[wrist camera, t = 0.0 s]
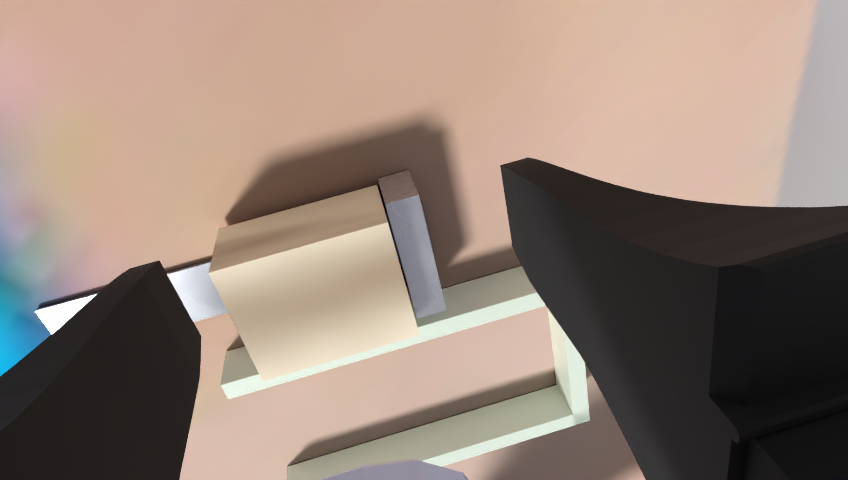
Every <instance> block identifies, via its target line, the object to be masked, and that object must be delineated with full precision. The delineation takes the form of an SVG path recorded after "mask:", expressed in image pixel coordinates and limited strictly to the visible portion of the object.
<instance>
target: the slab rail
mask: <svg viewBox="0 0 848 480" xmlns="http://www.w3.org/2000/svg"><path fill="white" fill-rule="evenodd" d="M378 182H379V185H380V189H381V193H382V196H383V200H384V203H385V207H386V211H385V214H386V218H387V221H388V225H389V228H390V232H391V235H392V239H393V242H394V246H395V249H396V253H397V256H398V260H399V263H401V264H402V268H403V271H404V275H405V278H406V282H407V285H408V289H409V292H410V296H411V299H412V302H413V306H414V309H415V313H416V316H417V319H418V318H421V317H424V316H428V315H431V314H435V313H438V312H442V311H445V310H447V309H446V305H445V301H444V297H443V293H442V288H441V284H440V280H439V276H438V272H437V268H436V264H435V259H434V255H433V254H434V251H433V246H432V242H431V238H430V234H429V230H428V226H427V221H426V217H425V213H424V209H423V205H422V202H421V201H420V197H419V194H418V192H417V189H416V187H415V185H414V182H413V180H412V178H411V175H410V173H409V171H408V170H406V171H403V172H399V173H396V174H392V175H388V176H385V177H381V178H378ZM210 264H211V260H208V261H204V262H201V263H197V264H193V265H190V266H186V267H183V268H179V269H176V270H172V271H168V272H166V273H167V275H168V277H169V279H170V281H171V282H172V284H173V286H174V288H175V290H176V292H177V293H178V295H179V297H180V299H181V301H182V302H183V304H184V306H185V308H186V310H187V312H188V313H189V315H190V317H191V319H192V321H193V322H196V321H200V320H203V319H207V318H210V317H214V316H217V315H221V314H224V313H228V311H227V309H226V307H225V305H224V303H223V301H222V299H221V297H220V295H219V293H218V291H217V289H216V287H215V285H214V283H213V281H212V279H211V277H210V275H209V273H208V272H209V268H210ZM99 292H100V291H97V292H94V293H90V294H86V295H83V296H79V297H76V298H72V299H69V300H65V301H62V302H58V303H54V304H51V305H47V306H44V307H40V308H37V309H36V311H35V312H36V313H37V315H38V316H39V317H40V319H41V320H42V322H43V323H44V324H45V326H46V327H47V328H48V330H49V331H50V332H51V334H53V333H54V332H55V331H56V330H57V329H59V328H60V327H61V326H62V325H63V324H64V323H65V322H66V321H67V320H69V319H70V318H71V317H72V316H73V315H74V314H75V313H76V312H78V311H79V310H80V309H81V308H82V307H83V306H84V305H85V304H87V303H88V302H89V301H90V300H91V299H92V298H93V297H94V296H96V295H97V294H98V293H99Z"/></svg>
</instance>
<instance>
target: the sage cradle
mask: <svg viewBox="0 0 848 480" xmlns="http://www.w3.org/2000/svg"><path fill="white" fill-rule="evenodd" d="M442 293H443V297H444V301H445V305H446V309H447V310H445V311H442V312H438V313H435V314H431V315H428V316H424V317H421V318H418V319H417V316H416V313H415V309H414V306H413V302H412V299H411V298H409V299H410V303H411V306H412V310H413V313H414V317H415V320H416V324H417V327H418V331H419V334H420V335H419V336H415V337H412V338H408V339H405V340H402V341H398V342H395V343H391V344H388V345H385V346H381V347H378V348H374V349H371V350H368V351H364V352H361V353H357V354H354V355H351V356H347V357H344V358H340V359H337V360H334V361H330V362H327V363H323V364H320V365H317V366H313V367H310V368H306V369H303V370H300V371H296V372H293V373H289V374H286V375H283V376H279V377H276V378H272V379H269V380H266V381H262V379H261V377H260V375H259V373H258V371H257V369H256V367H255V365H254V363H253V361H252V359H251V357H250V355H249V353H248V351H247V349H246V347H245V346H244V347H240V348H237V349H233V350H230V351H227V352H226V354H225V361H224V367H223V373H222V380H221V387H222V389H223V390H224V392H225V394H226V396H227V398H228V399H231V398H234V397H238V396H241V395H244V394H248V393H251V392H255V391H258V390H261V389H265V388H268V387H272V386H275V385H278V384H282V383H285V382H288V381H292V380H295V379H299V378H302V377H305V376H309V375H312V374H316V373H319V372H322V371H326V370H329V369H333V368H336V367H339V366H343V365H346V364H349V363H353V362H356V361H360V360H363V359H366V358H370V357H373V356H377V355H380V354H383V353H387V352H390V351H394V350H397V349H400V348H404V347H407V346H411V345H414V344H417V343H421V342H424V341H427V340H431V339H434V338H438V337H441V336H444V335H448V334H451V333H455V332H458V331H461V330H465V329H468V328H472V327H475V326H478V325H482V324H485V323H489V322H492V321H495V320H499V319H502V318H505V317H509V316H512V315H516V314H519V313H522V312H526V311H529V310H533V309H536V308H539V307H543V306H546V305H545V303H544V302H543V300H542V299H541V298H540V296H539V295H538V293H537V292H536V290H535V289H534V287H533V286H532V284H531V283H530V281H529V279H528V277H527V275H526V273H525V271H524V269H523V267H522V266H519V267H516V268H513V269H509V270H506V271H502V272H499V273H495V274H492V275H488V276H485V277H482V278H478V279H475V280H471V281H468V282H464V283H461V284H457V285H454V286H451V287H447V288H444V289H442ZM548 317H549V325H550V333H551V341H552V350H553V358H554V366H555V374H556V383H557V385H555V386H551V387H548V388H545V389H541V390H538V391H535V392H532V393H528V394H525V395H522V396H518V397H515V398H512V399H509V400H505V401H502V402H499V403H495V404H492V405H489V406H485V407H482V408H479V409H476V410H472V411H469V412H466V413H462V414H459V415H456V416H452V417H449V418H446V419H443V420H439V421H436V422H433V423H429V424H426V425H423V426H419V427H416V428H413V429H410V430H406V431H403V432H400V433H396V434H393V435H390V436H387V437H383V438H380V439H377V440H373V441H370V442H367V443H363V444H360V445H357V446H354V447H350V448H347V449H344V450H340V451H337V452H334V453H330V454H327V455H324V456H321V457H317V458H314V459H311V460H307V461H304V462H301V463H298V464H294V465H291V466H288V467H287V480H317V479H320V478H324V477H327V476H330V475H333V474H337V473H340V472H343V471H346V470H350V469H353V468H356V467H360V466H363V465H369V464H377V463H385V462H393V461H401V460H409V459H416V460H419V461H423V462H426V463H430V464H433V465H437V466H440V467H441V466H445V465H448V464H451V463H454V462H458V461H461V460H464V459H467V458H471V457H474V456H477V455H480V454H483V453H487V452H490V451H493V450H496V449H500V448H503V447H506V446H509V445H513V444H516V443H519V442H522V441H526V440H529V439H532V438H535V437H539V436H542V435H545V434H548V433H552V432H555V431H558V430H561V429H565V428H568V427H571V426H574V425H578V424H581V423H584V422H587V421H590V418H589V405H588V393H587V381H586V369H585V362H584V360H583V359H582V357H581V355H580V354H579V352H578V351H577V350H576V348H575V347H574V345H573V344H572V342H571V341H570V339H569V338H568V337H567V335H566V334H565V332H564V331H563V329H562V328H561V326H560V325H559V324H558V322H557V321H556V319H555V318H554V316H553V315H552V314H551V312H550V311H549V309H548Z"/></svg>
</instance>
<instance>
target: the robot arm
mask: <svg viewBox="0 0 848 480" xmlns="http://www.w3.org/2000/svg"><path fill="white" fill-rule="evenodd" d="M500 166H501V173H502V179H503V186H504V193H505V199H506V206H507V213H508V219H509V226H510V232H511V239H512V246H513V248H514V250H515V253H516V255H517V257H518V259H519V261H520V263H521V265H522V267H523V269H524V271H525V273H526V275H527V277H528V279H529V281H530V283H531V284H532V286H533V287H534V289H535V290H536V292H537V293H538V295H539V296H540V298H541V299H542V300H543V302H544V303H545V305H546V306H547V308H548V309H549V311H550V312H551V314H552V315H553V316H554V318H555V319H556V321H557V322H558V324H559V325H560V326H561V328H562V329H563V331H564V332H565V334H566V335H567V337H568V338H569V339H570V341H571V342H572V344H573V345H574V347H575V348H576V350H577V351H578V352H579V354H580V355H581V357H582V359H583V360H584V362H585V364H586V365H587V367H588V368H589V370H590V372H591V373H592V375H593V377H594V379H595V381H596V383H597V385H598V387H599V388H600V390H601V392H602V394H603V396H604V398H605V400H606V402H607V403H608V405H609V407H610V409H611V411H612V413H613V415H614V417H615V419H616V421H617V423H618V425H619V427H620V429H621V431H622V433H623V434H624V436H625V438H626V440H627V442H628V444H629V446H630V448H631V450H632V452H633V454H634V456H635V458H636V460H637V462H638V465H639V467H640V469H641V471H642V473H643V475H644V477H645V479H646V480H848V206H835V207H810V208H808V207H806V208H805V207H756V206H738V205H727V204H715V203H705V202H697V201H689V200H683V199H677V198H671V197H666V196H660V195H655V194H650V193H645V192H641V191H637V190H633V189H629V188H625V187H621V186H618V185H614V184H610V183H607V182H604V181H600V180H597V179H594V178H591V177H588V176H585V175H582V174H579V173H576V172H573V171H570V170H567V169H564V168H561V167H558V166H555V165H552V164H549V163H546V162H543V161H540V160H537V159H533V158H525V159H522V160H518V161H514V162H511V163H507V164H504V165H500ZM200 361H201V335H200V333H199V331H198V330H197V328H196V326H195V324H194V322H193V321H192V319H191V317H190V315H189V313H188V312H187V310H186V308H185V306H184V304H183V302H182V301H181V299H180V297H179V295H178V293H177V292H176V290H175V288H174V286H173V284H172V282H171V281H170V279H169V277H168V275H167V273H166V272H165V270H164V268H163V266H162V264H161V262H160V261H156V262H152V263H148V264H145V265H141V266H138V267H134V268H131V269H128V270H127V271H125V272H124V273H122V274H121V275H120V276H118V277H117V278H116V279H114V280H113V281H112V282H111V283H109V284H108V285H107V286H106V287H105V288H104V289H102V290H101V291H100V292H99V293H98V294H97V295H96V296H94V297H93V298H92V299H91V300H90V301H89V302H88V303H87V304H85V305H84V306H83V307H82V308H81V309H80V310H79V311H78V312H76V313H75V314H74V315H73V316H72V317H71V318H70V319H69V320H67V321H66V322H65V323H64V324H63V325H62V326H61V327H60V328H59V329H57V330H56V331H55V332H54V333H53V334H52V335H50V336H49V337H48V338H47V339H46V340H44V341H43V342H42V343H41V344H40V345H38V346H37V347H36V348H35V349H34V350H32V351H31V352H30V353H29V354H28V355H26V356H25V357H24V358H23V359H22V360H20V361H19V362H18V363H17V364H16V365H14V366H13V367H12V368H11V369H9V370H8V371H7V372H6V373H4V374H3V375H2V376H0V480H179V478H180V472H181V467H182V462H183V458H184V453H185V448H186V443H187V438H188V433H189V429H190V424H191V419H192V414H193V409H194V404H195V399H196V394H197V389H198V383H199V378H200ZM317 480H468V479H467V477H466V476H465V475H464V474H463V473H462V472H458V471H455V470H451V469H448V468H444V467H440V466H437V465H433V464H430V463H426V462H423V461H419V460H416V459H409V460H401V461H393V462H385V463H377V464H369V465H363V466H360V467H356V468H353V469H350V470H346V471H343V472H340V473H337V474H333V475H330V476H327V477H324V478H320V479H317Z"/></svg>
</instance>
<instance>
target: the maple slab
mask: <svg viewBox="0 0 848 480" xmlns="http://www.w3.org/2000/svg"><path fill="white" fill-rule="evenodd" d="M208 273H209V275H210V277H211V279H212V281H213V283H214V285H215V287H216V289H217V291H218V293H219V295H220V297H221V299H222V301H223V303H224V305H225V307H226V309H227V311H228V313H229V315H230V317H231V319H232V321H233V323H234V325H235V327H236V329H237V331H238V333H239V335H240V337H241V339H242V341H243V343H244V345H245V347H246V349H247V351H248V353H249V355H250V357H251V359H252V361H253V363H254V365H255V367H256V369H257V371H258V373H259V375H260V377H261V379H262V381H266V380H269V379H272V378H276V377H279V376H283V375H286V374H289V373H293V372H296V371H300V370H303V369H306V368H310V367H313V366H317V365H320V364H323V363H327V362H330V361H334V360H337V359H340V358H344V357H347V356H351V355H354V354H357V353H361V352H364V351H368V350H371V349H374V348H378V347H381V346H385V345H388V344H391V343H395V342H398V341H402V340H405V339H408V338H412V337H415V336H419V335H420V334H419V331H418V327H417V324H416V320H415V317H414V313H413V310H412V306H411V303H410V299H409V295H408V292H407V288H406V285H405V281H404V278H403V274H402V271H401V267H400V264H399V260H398V256H397V253H396V249H395V246H394V242H393V239H392V235H391V232H390V228H389V225H388V221H387V218H386V214H385V211H384V207H383V204H382V200H381V197H380V194H379V190H378V187H377V185H374V186H371V187H367V188H363V189H360V190H356V191H353V192H349V193H345V194H342V195H338V196H335V197H331V198H327V199H324V200H320V201H317V202H313V203H309V204H306V205H302V206H299V207H295V208H291V209H288V210H284V211H281V212H277V213H273V214H270V215H266V216H263V217H259V218H255V219H252V220H248V221H245V222H241V223H237V224H234V225H230V226H227V227H223V228H219V230H218V234H217V239H216V243H215V247H214V251H213V255H212V259H211V264H210V268H209V272H208Z"/></svg>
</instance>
